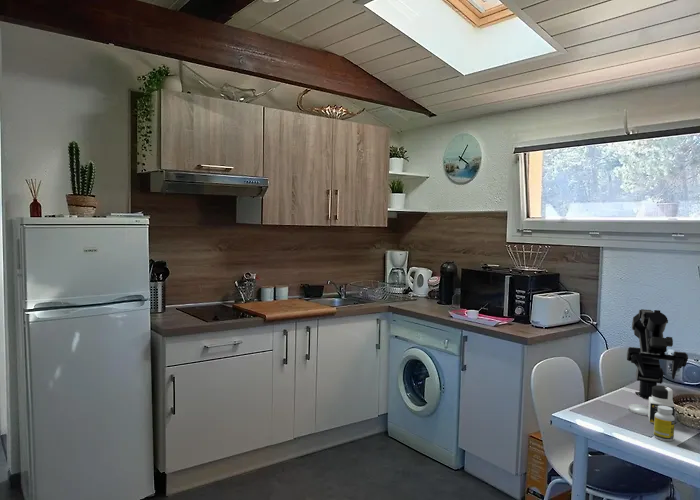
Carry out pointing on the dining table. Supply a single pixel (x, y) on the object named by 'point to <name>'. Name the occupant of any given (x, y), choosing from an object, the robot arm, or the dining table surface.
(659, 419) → the supplement bottle
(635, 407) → the white round dome
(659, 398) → the medicine bottle
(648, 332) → the robot arm
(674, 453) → the dining table surface
